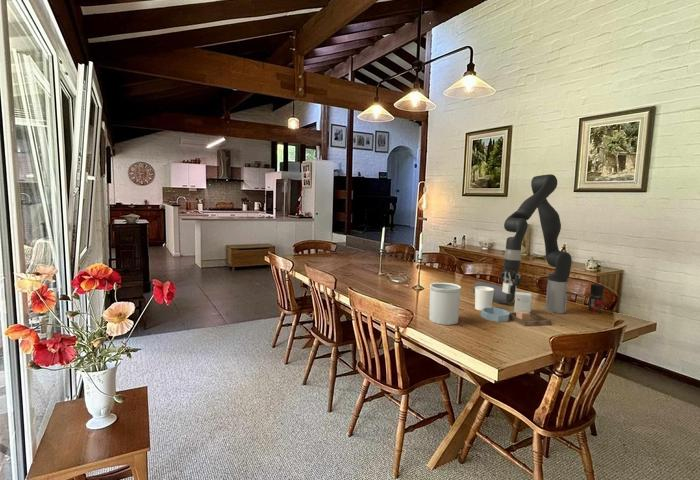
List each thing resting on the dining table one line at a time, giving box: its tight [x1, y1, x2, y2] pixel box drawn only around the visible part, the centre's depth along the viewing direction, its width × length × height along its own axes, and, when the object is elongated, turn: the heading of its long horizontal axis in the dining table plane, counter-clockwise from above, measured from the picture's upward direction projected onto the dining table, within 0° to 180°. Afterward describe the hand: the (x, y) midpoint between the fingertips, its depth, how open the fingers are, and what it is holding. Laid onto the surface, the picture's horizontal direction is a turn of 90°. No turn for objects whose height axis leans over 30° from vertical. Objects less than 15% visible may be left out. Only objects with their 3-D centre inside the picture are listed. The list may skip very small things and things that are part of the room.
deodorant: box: [587, 283, 605, 314], centre depth 206 cm, size 6×6×15 cm
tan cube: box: [516, 310, 531, 322], centre depth 185 cm, size 4×4×4 cm
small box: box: [513, 291, 533, 312], centre depth 201 cm, size 8×6×10 cm
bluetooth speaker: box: [472, 281, 515, 304], centre depth 223 cm, size 23×9×10 cm, turn 34°
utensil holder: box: [428, 282, 462, 326], centre depth 183 cm, size 15×15×18 cm
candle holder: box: [474, 286, 494, 312], centre depth 204 cm, size 10×10×12 cm
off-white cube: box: [502, 282, 518, 294], centre depth 187 cm, size 4×4×4 cm
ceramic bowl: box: [480, 306, 511, 323], centre depth 190 cm, size 13×13×4 cm
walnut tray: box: [509, 311, 552, 327], centre depth 186 cm, size 14×14×3 cm
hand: (508, 292), depth 187 cm, fingers closed on off-white cube, 4 cm apart
